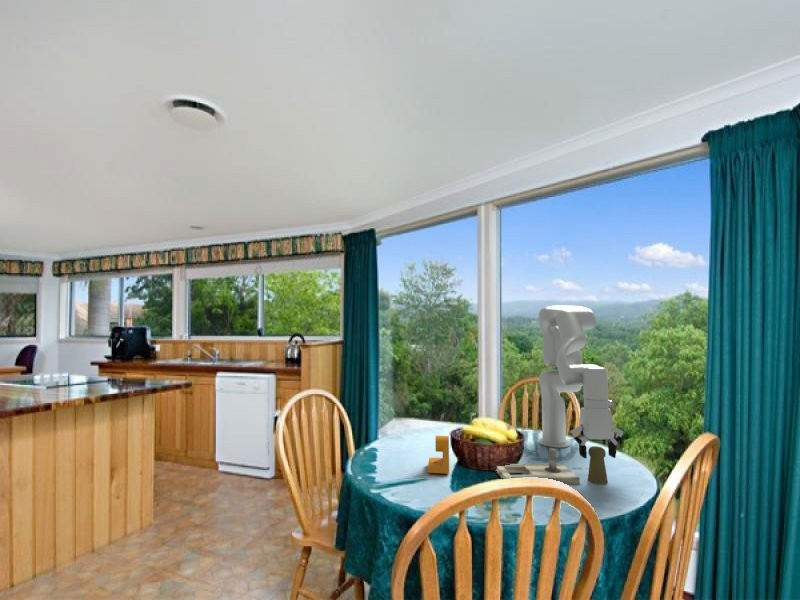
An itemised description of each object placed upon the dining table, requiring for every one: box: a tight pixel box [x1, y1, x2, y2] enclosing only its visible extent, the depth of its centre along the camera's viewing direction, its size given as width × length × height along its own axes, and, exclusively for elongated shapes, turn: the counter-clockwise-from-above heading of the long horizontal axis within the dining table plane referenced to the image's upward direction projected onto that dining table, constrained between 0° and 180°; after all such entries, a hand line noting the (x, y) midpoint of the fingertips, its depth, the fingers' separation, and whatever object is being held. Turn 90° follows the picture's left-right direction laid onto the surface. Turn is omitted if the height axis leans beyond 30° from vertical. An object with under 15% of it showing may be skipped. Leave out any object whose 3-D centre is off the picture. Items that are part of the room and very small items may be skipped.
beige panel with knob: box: [495, 447, 581, 485], centre depth 146 cm, size 14×24×9 cm, turn 92°
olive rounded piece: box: [587, 445, 609, 485], centre depth 142 cm, size 6×6×11 cm
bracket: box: [427, 435, 450, 474], centre depth 153 cm, size 11×7×12 cm, turn 174°
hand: (597, 456), depth 142 cm, fingers open, 9 cm apart
